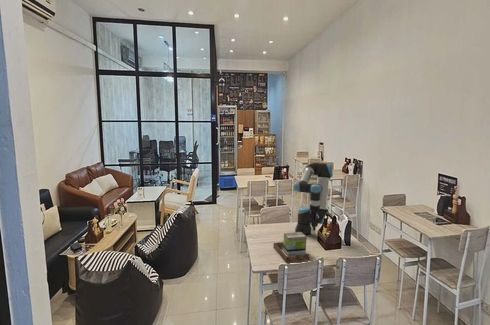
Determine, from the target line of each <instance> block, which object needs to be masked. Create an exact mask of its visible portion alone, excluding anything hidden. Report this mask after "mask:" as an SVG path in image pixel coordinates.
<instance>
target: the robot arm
mask: <svg viewBox="0 0 490 325" xmlns="http://www.w3.org/2000/svg"><path fill="white" fill-rule="evenodd" d="M333 170H334V169H333V165H332V164H331V163H324V162H311V163H308V164H307V165H306V166H304V168H303V172H302V175H301V177H300V179H299V181H298V182H294V185H293V190H294V192H298V193H305V194H310V196H309V197H310V198H309V206H308V205H307V206H306V205H305V206H300V207H299V208H298V209H297V223H296V226H295V228H294V232H302V233H303V234H304V235H305V236H310V235H315V234H316V230H317V229H316V227H318V225H319V224H320V225H324V224H323V221H324V217H325V215H326V214H327V213H329V214H330V211H328V208H327V200H328V193H329V192H328V189H329V182H330V180H331V178H333V174H334V173H333ZM312 176H317V179H318V183H315V184H314V183H310V180H311V178H312Z"/></svg>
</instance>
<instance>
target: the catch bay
mask: <svg viewBox="0 0 490 325" xmlns="http://www.w3.org/2000/svg"><path fill="white" fill-rule="evenodd" d="M282 248H283V241H280V242H273V249H274V250H275V251H276V253H277V254H278V255H279V256H280V257H281V258H282V260H283V261H284V262H285V263H293V262H301V261H309V260H310V254H309V253H305V254H303V255H291V256H287V255H286V254H285V252H284V251H283V249H282Z"/></svg>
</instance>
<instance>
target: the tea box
mask: <svg viewBox="0 0 490 325" xmlns="http://www.w3.org/2000/svg"><path fill="white" fill-rule="evenodd" d="M307 237H308V236H307V235H304V234H303V233H302V232H295V231H293V232H284V233H283V241H282V242H283V247H282V251H283V253H284V254H285V255H286V256H295V255H303V254H306V250H307Z"/></svg>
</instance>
